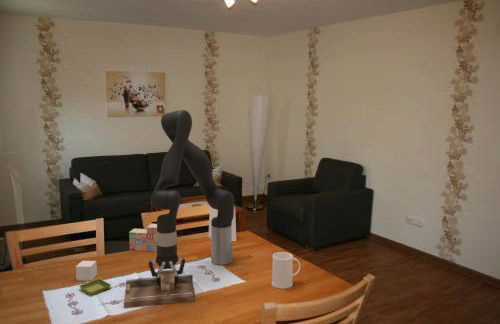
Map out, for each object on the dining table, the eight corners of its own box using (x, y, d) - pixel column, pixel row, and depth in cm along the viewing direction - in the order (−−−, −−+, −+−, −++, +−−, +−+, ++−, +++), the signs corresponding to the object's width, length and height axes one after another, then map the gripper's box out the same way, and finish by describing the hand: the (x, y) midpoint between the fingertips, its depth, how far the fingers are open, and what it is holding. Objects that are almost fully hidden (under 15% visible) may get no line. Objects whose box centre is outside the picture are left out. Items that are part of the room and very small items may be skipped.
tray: (192, 285, 158) (192, 274, 157) (195, 300, 146) (195, 289, 145) (126, 291, 153) (126, 279, 152) (123, 307, 140) (123, 295, 139)
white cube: (83, 274, 167) (82, 260, 167) (97, 274, 167) (96, 261, 166) (76, 280, 161) (75, 266, 161) (91, 280, 161) (90, 266, 160)
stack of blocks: (129, 250, 195) (128, 226, 193) (134, 246, 201) (133, 222, 200) (171, 252, 193) (171, 228, 191) (175, 248, 199) (175, 224, 197)
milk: (208, 237, 216) (208, 190, 212) (228, 234, 220) (228, 188, 217) (215, 244, 205) (215, 194, 201) (236, 241, 209) (236, 193, 206)
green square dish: (99, 283, 160) (99, 278, 160) (111, 289, 155) (111, 284, 154) (78, 290, 153) (78, 285, 153) (90, 297, 148) (90, 292, 148)
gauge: (174, 284, 154) (173, 269, 153) (175, 295, 145) (174, 279, 145) (160, 285, 153) (160, 270, 152) (161, 296, 144) (160, 280, 143)
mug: (297, 278, 165) (298, 251, 164) (303, 287, 157) (304, 258, 155) (269, 280, 164) (270, 252, 162) (273, 289, 155) (274, 260, 154)
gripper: (185, 237, 154) (185, 279, 157) (147, 240, 151) (148, 282, 153) (186, 244, 147) (187, 288, 149) (146, 247, 144) (147, 291, 146)
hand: (167, 285), depth 151 cm, fingers closed on gauge, 5 cm apart
